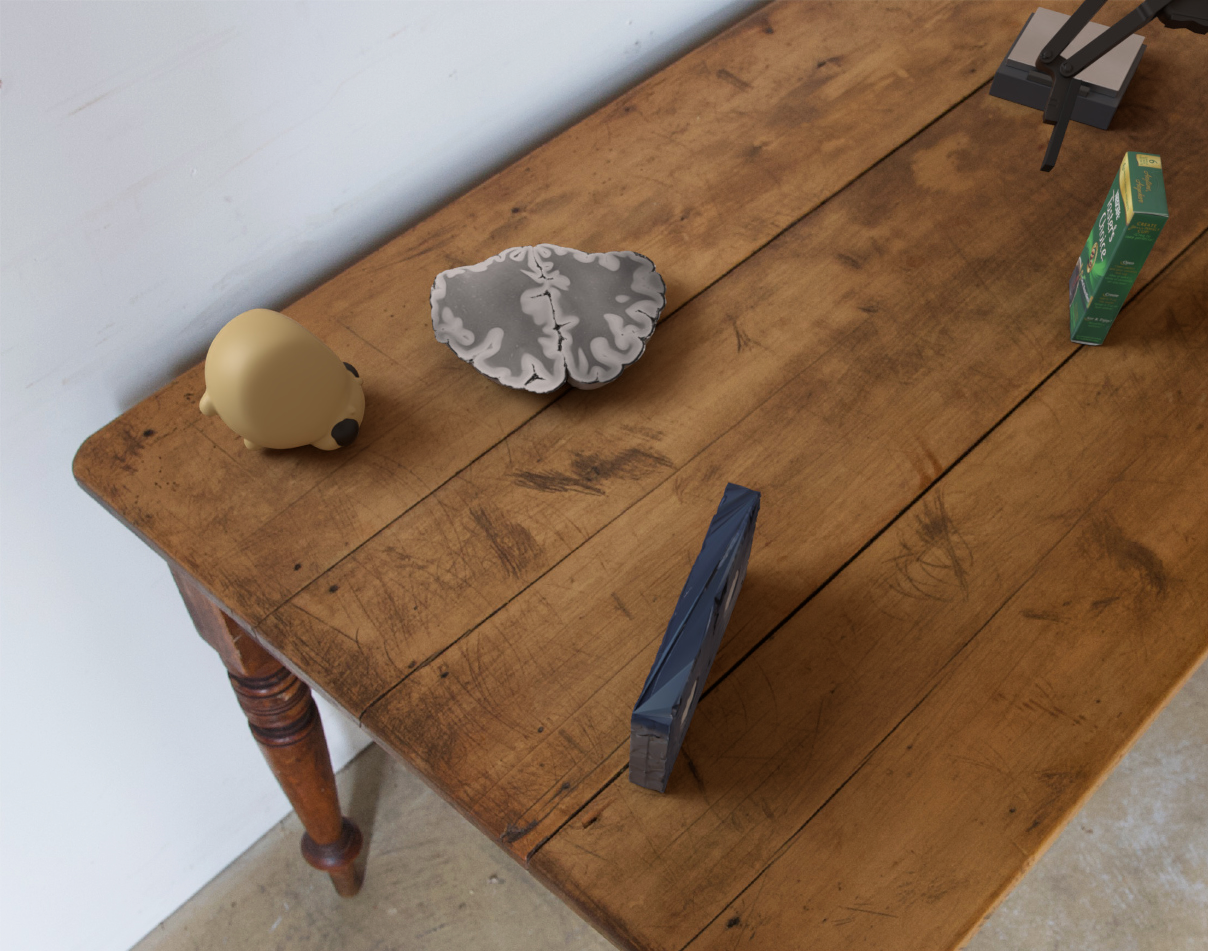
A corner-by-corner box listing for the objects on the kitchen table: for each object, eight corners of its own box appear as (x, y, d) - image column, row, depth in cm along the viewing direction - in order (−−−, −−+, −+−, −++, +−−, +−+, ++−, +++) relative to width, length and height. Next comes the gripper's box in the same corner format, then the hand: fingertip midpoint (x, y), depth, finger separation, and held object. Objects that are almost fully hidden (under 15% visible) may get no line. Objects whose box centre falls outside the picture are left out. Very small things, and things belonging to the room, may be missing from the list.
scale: (1137, 67, 114) (1150, 37, 112) (1106, 130, 109) (1120, 99, 106) (1024, 35, 117) (1034, 4, 115) (988, 94, 112) (998, 63, 109)
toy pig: (304, 500, 88) (390, 442, 82) (165, 430, 80) (249, 361, 74) (316, 404, 93) (398, 343, 87) (186, 329, 85) (267, 257, 79)
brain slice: (451, 433, 87) (446, 408, 85) (424, 286, 96) (420, 259, 94) (692, 397, 90) (695, 371, 87) (645, 256, 98) (646, 229, 96)
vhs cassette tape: (714, 564, 81) (728, 478, 73) (753, 578, 80) (771, 492, 72) (619, 781, 72) (622, 711, 63) (662, 797, 71) (671, 730, 63)
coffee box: (1065, 277, 98) (1126, 146, 86) (1099, 282, 97) (1164, 151, 86) (1066, 342, 93) (1131, 212, 82) (1102, 347, 93) (1171, 218, 82)
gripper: (1386, -56, 85) (1279, 228, 90) (1056, -113, 89) (972, 162, 94) (1435, -96, 78) (1316, 215, 83) (1073, -156, 82) (981, 144, 87)
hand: (1133, 187), depth 89 cm, fingers open, 13 cm apart
